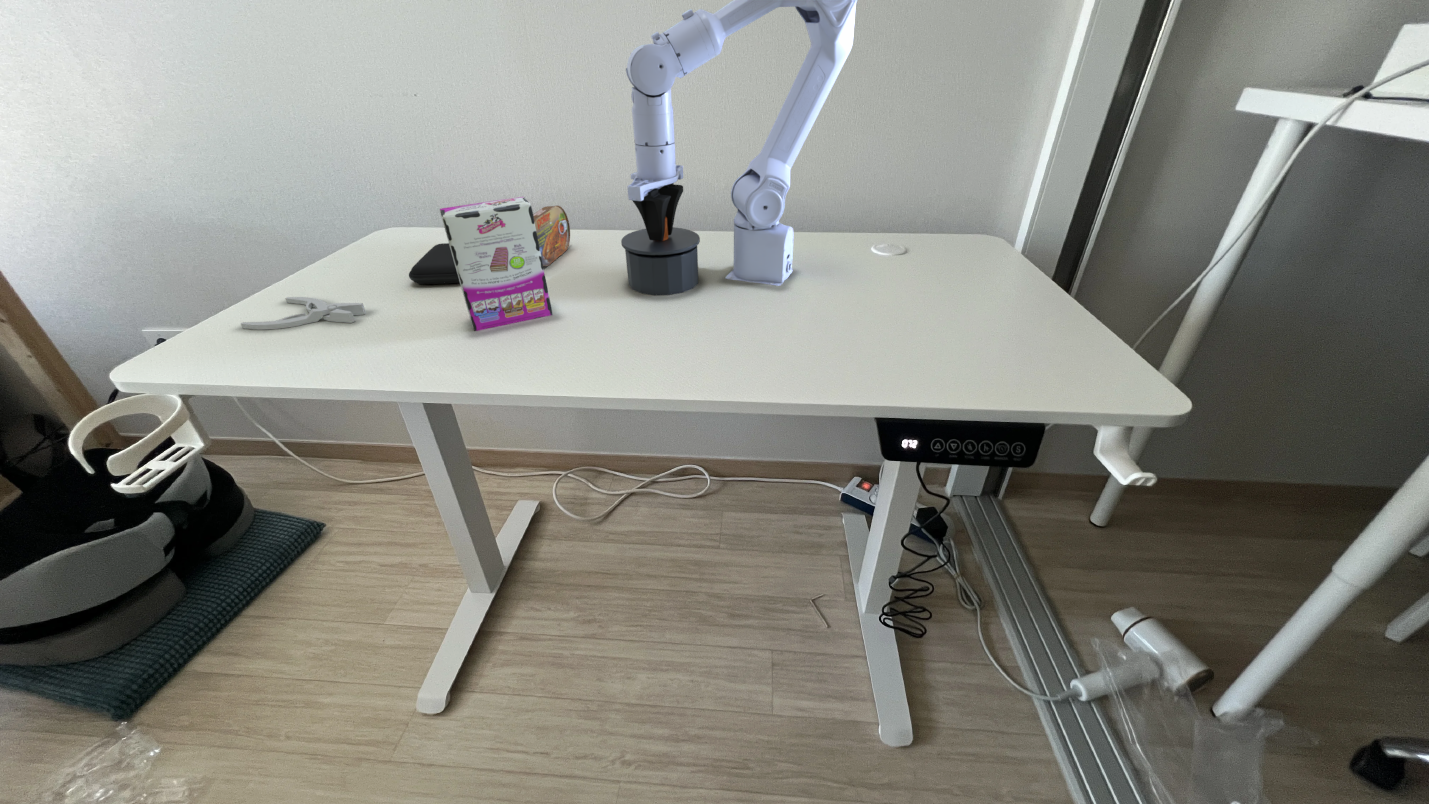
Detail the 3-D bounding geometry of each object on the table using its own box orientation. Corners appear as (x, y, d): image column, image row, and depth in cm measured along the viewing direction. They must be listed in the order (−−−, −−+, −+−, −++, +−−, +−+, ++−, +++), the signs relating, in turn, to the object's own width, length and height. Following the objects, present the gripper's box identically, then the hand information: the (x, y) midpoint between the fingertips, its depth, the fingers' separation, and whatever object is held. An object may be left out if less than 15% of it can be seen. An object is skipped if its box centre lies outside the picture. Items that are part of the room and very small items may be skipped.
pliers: (286, 291, 91) (376, 294, 90) (290, 300, 92) (379, 304, 91) (236, 318, 83) (334, 322, 81) (241, 328, 84) (338, 332, 82)
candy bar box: (545, 306, 89) (524, 195, 80) (554, 318, 85) (533, 203, 76) (468, 321, 85) (437, 206, 76) (474, 335, 81) (442, 215, 72)
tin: (539, 273, 100) (530, 224, 96) (522, 272, 101) (512, 223, 96) (574, 245, 113) (567, 200, 108) (558, 244, 113) (551, 199, 109)
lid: (711, 237, 95) (711, 211, 92) (680, 263, 85) (679, 233, 83) (644, 230, 98) (642, 204, 96) (607, 253, 89) (604, 225, 87)
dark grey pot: (708, 276, 98) (707, 238, 94) (681, 302, 89) (679, 261, 86) (648, 268, 102) (645, 231, 98) (616, 293, 93) (612, 253, 89)
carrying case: (474, 286, 96) (496, 255, 108) (469, 268, 94) (492, 239, 107) (407, 288, 96) (437, 257, 108) (402, 270, 94) (433, 240, 106)
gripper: (652, 133, 90) (658, 221, 98) (604, 150, 79) (614, 248, 87) (694, 135, 88) (696, 225, 96) (651, 153, 77) (657, 254, 85)
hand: (660, 237), depth 91 cm, fingers closed on lid, 2 cm apart
